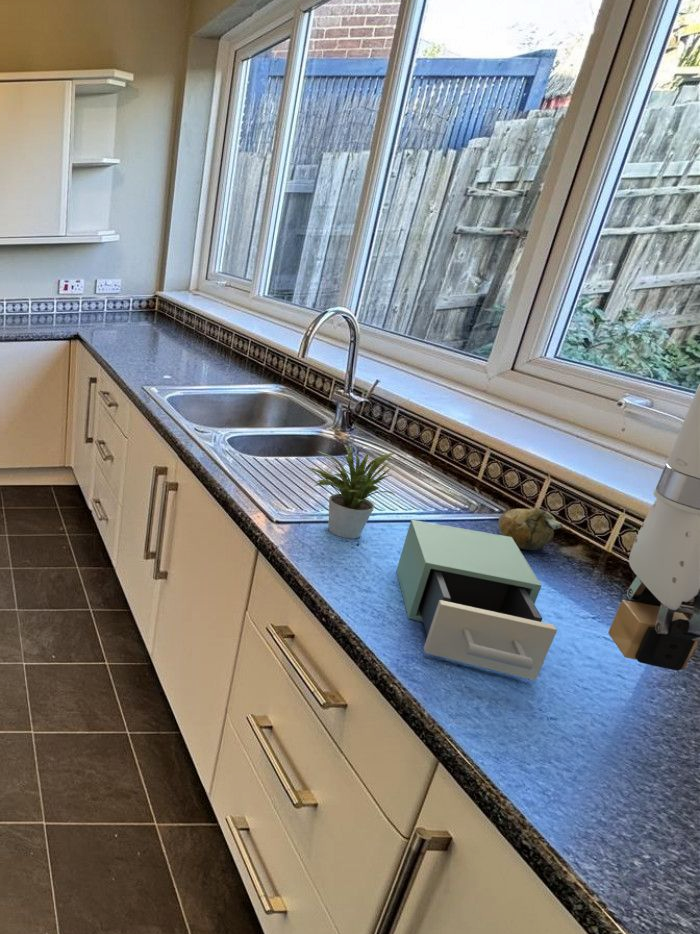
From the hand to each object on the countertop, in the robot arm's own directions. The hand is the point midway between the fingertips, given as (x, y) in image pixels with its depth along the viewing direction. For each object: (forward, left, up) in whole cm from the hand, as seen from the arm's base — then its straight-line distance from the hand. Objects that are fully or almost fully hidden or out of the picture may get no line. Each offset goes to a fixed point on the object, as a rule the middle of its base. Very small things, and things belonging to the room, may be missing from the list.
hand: (646, 648), depth 64 cm
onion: (-5, -52, -14) cm, 54 cm away
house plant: (+22, -45, -14) cm, 52 cm away
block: (0, 0, 0) cm, 0 cm away
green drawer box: (+9, -25, -13) cm, 30 cm away
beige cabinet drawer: (+9, -12, -12) cm, 20 cm away
